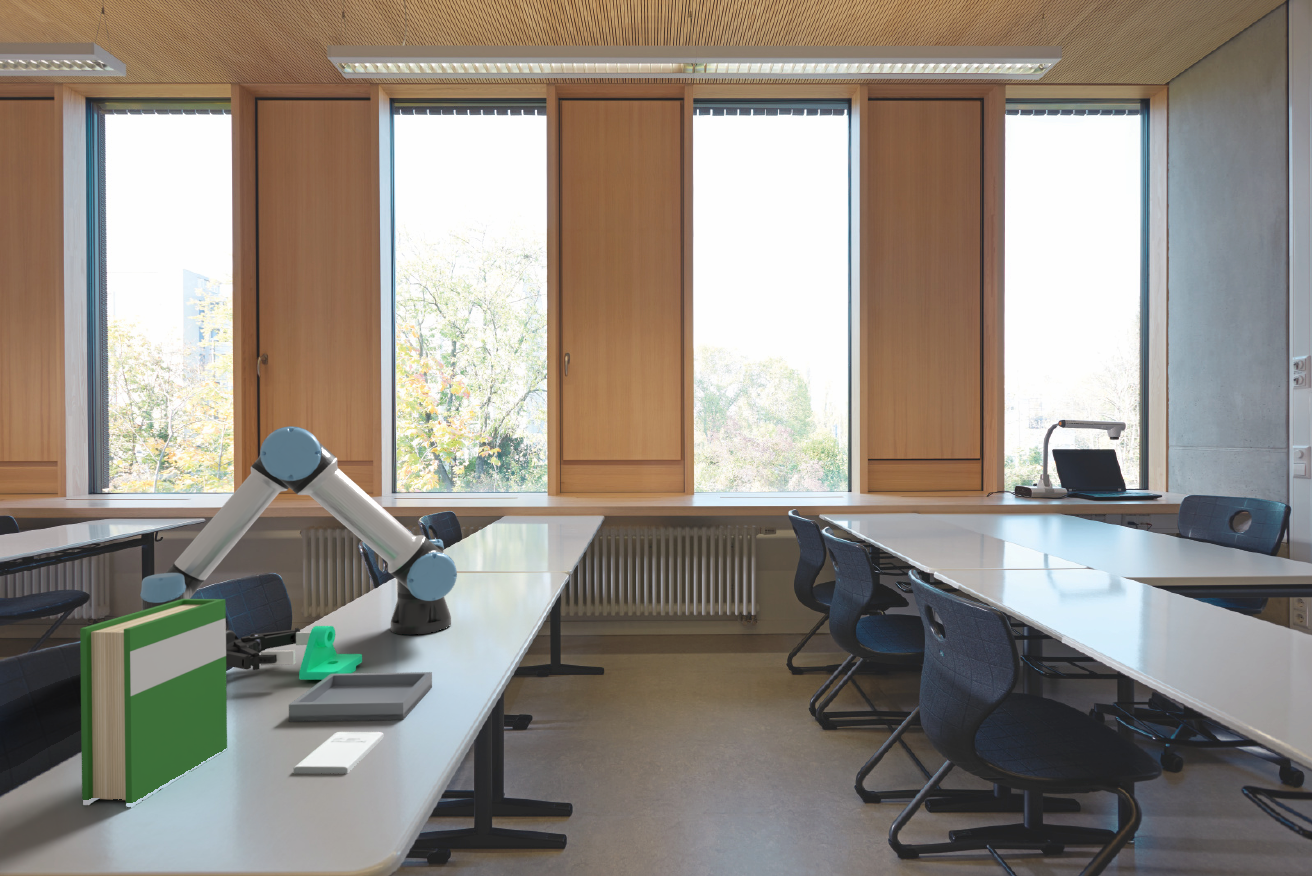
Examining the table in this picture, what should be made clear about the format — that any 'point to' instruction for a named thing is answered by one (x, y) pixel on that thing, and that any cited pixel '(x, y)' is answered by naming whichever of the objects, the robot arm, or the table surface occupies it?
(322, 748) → the external hard drive
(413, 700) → the tray
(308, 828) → the table surface
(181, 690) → the hardback book
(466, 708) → the table surface
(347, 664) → the green mounting bracket
